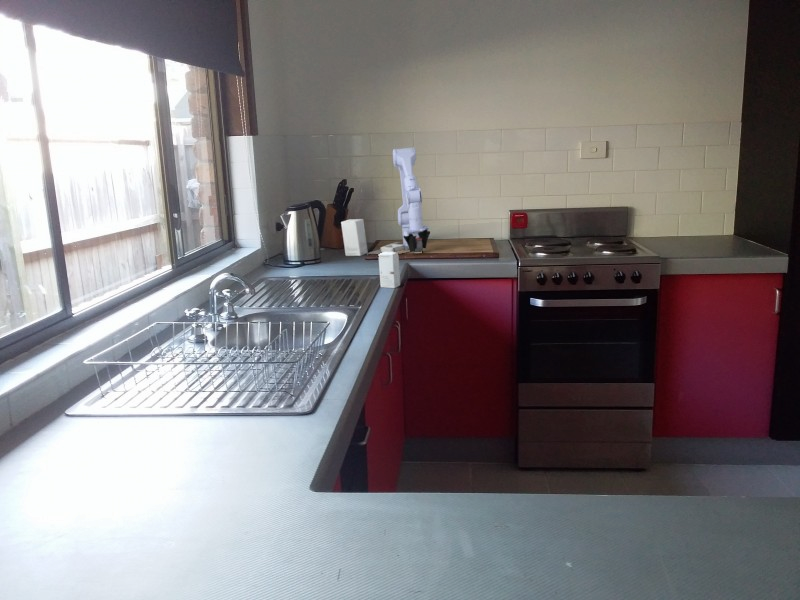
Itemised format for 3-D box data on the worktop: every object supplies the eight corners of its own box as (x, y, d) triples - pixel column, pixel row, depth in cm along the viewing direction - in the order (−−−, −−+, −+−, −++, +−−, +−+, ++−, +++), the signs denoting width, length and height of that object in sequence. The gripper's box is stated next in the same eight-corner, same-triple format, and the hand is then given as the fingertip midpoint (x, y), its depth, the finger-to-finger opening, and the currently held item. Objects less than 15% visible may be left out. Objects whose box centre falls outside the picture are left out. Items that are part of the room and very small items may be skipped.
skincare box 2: (380, 287, 246) (376, 254, 242) (386, 284, 249) (383, 251, 246) (395, 288, 242) (392, 254, 239) (401, 285, 246) (398, 251, 243)
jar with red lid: (417, 252, 303) (416, 237, 302) (425, 252, 300) (423, 237, 299) (411, 254, 300) (410, 239, 299) (419, 254, 298) (417, 239, 296)
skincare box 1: (368, 253, 311) (364, 218, 307) (359, 256, 305) (355, 221, 301) (352, 253, 315) (349, 218, 311) (344, 256, 310) (340, 221, 306)
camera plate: (394, 247, 318) (394, 240, 318) (418, 249, 309) (417, 242, 308) (367, 255, 306) (366, 248, 305) (391, 257, 296) (390, 250, 296)
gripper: (411, 221, 289) (414, 253, 292) (433, 215, 299) (435, 246, 302) (398, 221, 293) (401, 252, 297) (420, 215, 304) (423, 246, 307)
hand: (418, 249), depth 300 cm, fingers open, 7 cm apart
